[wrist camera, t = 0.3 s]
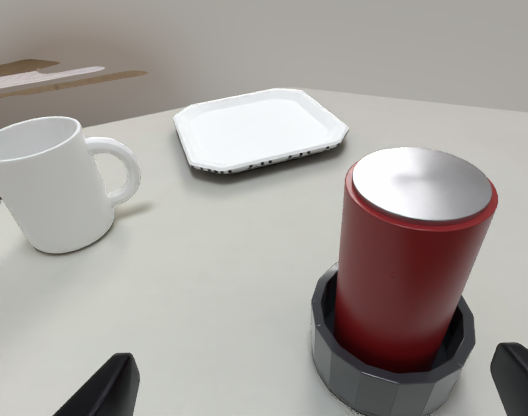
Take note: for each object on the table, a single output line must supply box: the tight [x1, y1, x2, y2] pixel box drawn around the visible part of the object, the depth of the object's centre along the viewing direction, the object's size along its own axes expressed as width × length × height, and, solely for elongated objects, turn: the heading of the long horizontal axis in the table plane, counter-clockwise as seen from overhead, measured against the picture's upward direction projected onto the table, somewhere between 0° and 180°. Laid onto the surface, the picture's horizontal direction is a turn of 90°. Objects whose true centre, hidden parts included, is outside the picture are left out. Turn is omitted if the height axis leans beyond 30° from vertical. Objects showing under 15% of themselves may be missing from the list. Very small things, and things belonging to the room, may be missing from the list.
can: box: [333, 147, 498, 374], centre depth 20 cm, size 6×6×13 cm
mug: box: [0, 116, 141, 253], centre depth 35 cm, size 12×8×10 cm
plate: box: [173, 88, 349, 174], centre depth 50 cm, size 21×21×2 cm
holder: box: [311, 262, 475, 416], centre depth 23 cm, size 9×9×4 cm
